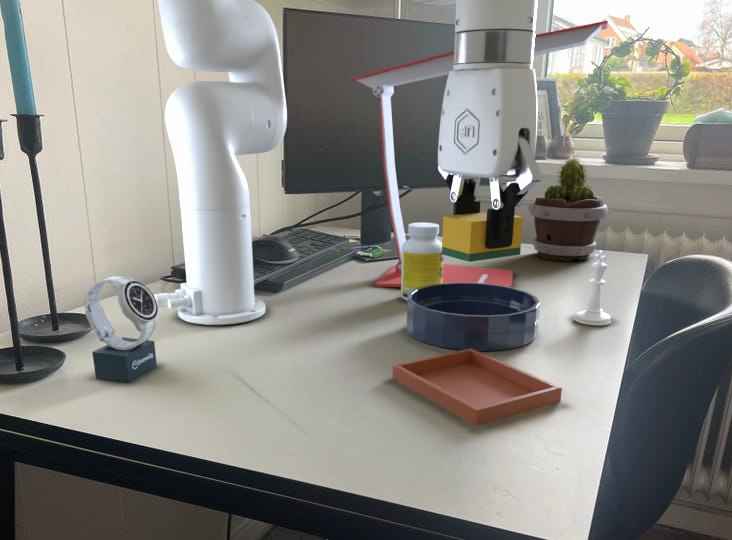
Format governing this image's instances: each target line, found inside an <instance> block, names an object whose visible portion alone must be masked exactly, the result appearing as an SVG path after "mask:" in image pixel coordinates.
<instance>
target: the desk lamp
mask: <svg viewBox="0 0 732 540" xmlns="http://www.w3.org/2000/svg"><path fill="white" fill-rule="evenodd" d="M608 22H609V21H608V20H604V21H599V22H598V21H597V22H593V23H588V24H584V25H583V24H582V25H578V26H573V27H567V28H563V29H558V30H553V31H546V32H542V33H537V34H535V37H534V50H533V57H536V56H540V55H545V54H549V53H553V52H560V51H563V50H569V49H572V48H573V49H574V48H577V47H583V46H586V45H587V44H588V43H589V42H590V41H591V40H592V39H593V38H594V37H595V36H596V35H597V34H598V33H599V32H600V31H603V30H607V29H608V24H609V23H608ZM453 67H454V50H453V51H449V52H445V53H442V54H437V55H434V56H430V57H427V58H423V59H419V60H416V61H411V62H408V63H404V64H399V65H397V66H393V67H388V68H385V69H381V70H377V71H374V72H370V73H366V74H362V75H359V76H355V77H350V78H349V79H348V80H349V82H356V83H360V84H362V85H364V86H366V87H368V88H370V89H372V93H373V95H374V96H375V97H377V98H378V106H379V107H378V109H379V119H380V132H381V133H380V135H381V136H380V137H381V146H382V147H381V149H382V151H381V152H382V162H383V163H382V164H383V172H384V173H383V174H384V181H385V188H386V196H387V204H388V212H389V217H390V222H391V227H392V233H393V238H394V242H395V248H396V253H397V258H398V262H397V264H395V265H394V266H393V267H392V268H391V269H390V270H388V271H387V272H385V273H384V274H383V275H381V277H379V278H378V279H377V280H376V281H375V282H374V286H375V287H380V288H381V287H382V288H383V287H384V288H401V273H402V246H403V244H404V242H406V241H407V238H406V234H405V228H404V222H403V217H402V209H401V205H400V196H399V187H398V180H397V178H398V177H397V172H396V160H395V146H394V145H395V144H394V132H393V130H394V129H393V116H392V115H393V114H392V99H391V98H392V96H393V95H394V94H395V90H394V87H396V86H401V85H406V84H410V83H414V82H415V83H416V82H419V81H424V80H428V79H434V78H438V77H443V76H449V72H450V71H453ZM513 275H514V272H513V271H512V270H509V269H500V268H499V269H498V268H489V267H488V268H487V267H481V266H480V267H478V266H469V265H459V264H449V263H443V281H442V283H458V282H462V283H484V284H495V285H501V286H507V287H512V285H513Z"/></svg>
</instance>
